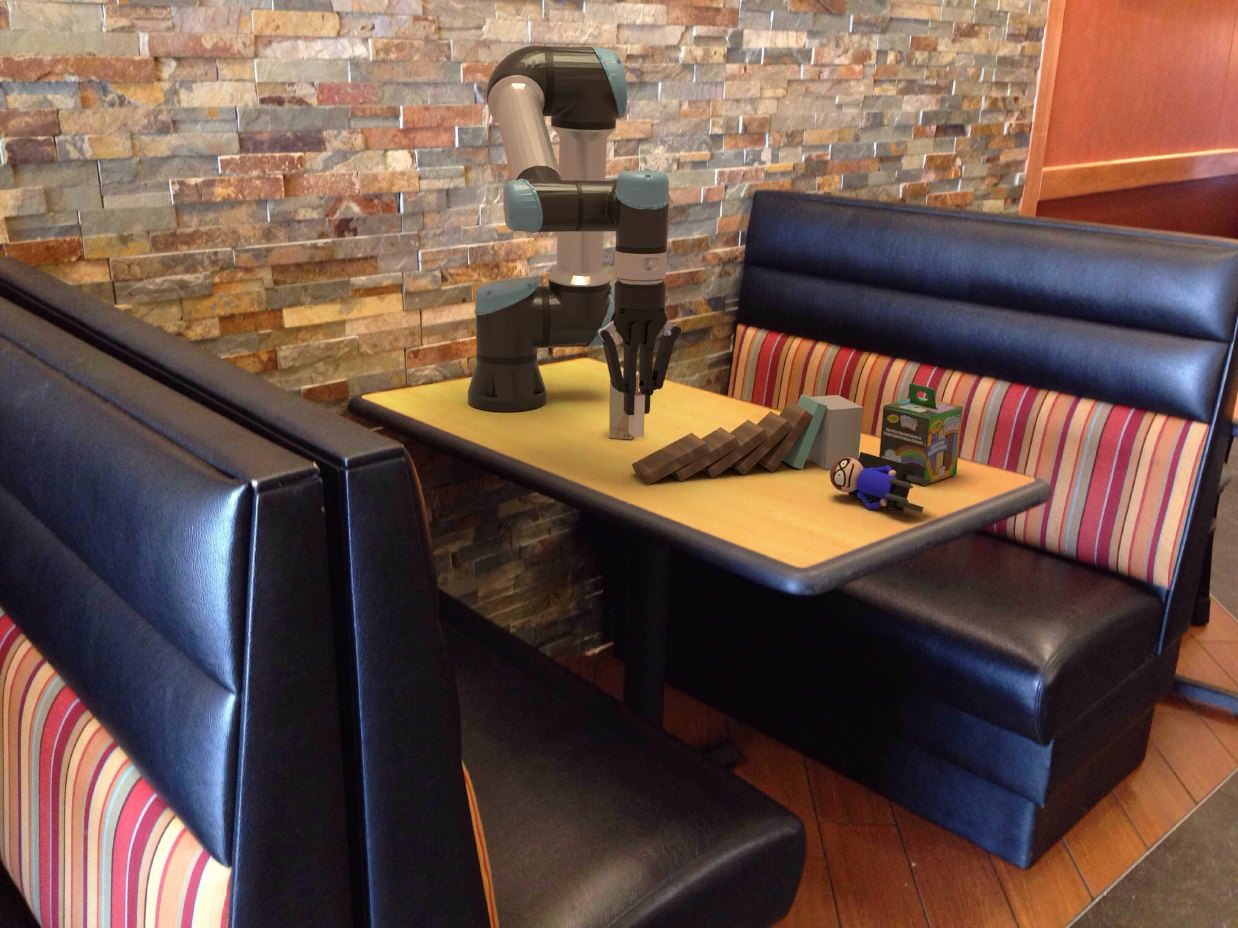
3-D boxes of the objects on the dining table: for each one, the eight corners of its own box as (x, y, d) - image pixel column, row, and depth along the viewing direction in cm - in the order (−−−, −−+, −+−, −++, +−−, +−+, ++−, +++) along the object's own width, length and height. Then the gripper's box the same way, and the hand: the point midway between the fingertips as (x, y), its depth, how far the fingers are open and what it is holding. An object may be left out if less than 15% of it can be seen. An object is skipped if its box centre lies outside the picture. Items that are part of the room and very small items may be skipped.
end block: (801, 455, 184) (805, 397, 181) (832, 451, 186) (837, 394, 183) (825, 469, 177) (830, 410, 174) (857, 466, 179) (863, 407, 176)
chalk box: (957, 476, 176) (968, 386, 171) (923, 487, 170) (934, 395, 165) (909, 461, 182) (918, 374, 178) (874, 472, 177) (883, 382, 172)
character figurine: (907, 528, 155) (822, 500, 165) (936, 513, 159) (851, 486, 170) (910, 476, 152) (823, 451, 162) (940, 462, 156) (853, 439, 167)
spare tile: (793, 466, 176) (818, 402, 174) (776, 456, 181) (801, 394, 179) (802, 469, 177) (827, 405, 175) (785, 459, 182) (810, 397, 180)
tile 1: (644, 475, 168) (706, 442, 170) (631, 464, 173) (691, 432, 175) (648, 485, 168) (709, 452, 170) (635, 473, 173) (695, 442, 175)
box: (632, 440, 190) (634, 378, 187) (608, 438, 191) (609, 376, 188) (638, 432, 195) (639, 371, 192) (614, 430, 196) (615, 369, 192)
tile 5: (765, 467, 175) (805, 410, 174) (749, 456, 180) (789, 401, 179) (773, 472, 175) (813, 416, 175) (757, 461, 180) (796, 407, 180)
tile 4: (736, 468, 173) (787, 420, 173) (721, 457, 178) (770, 411, 178) (743, 475, 174) (793, 427, 174) (727, 464, 179) (776, 418, 179)
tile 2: (676, 472, 169) (735, 436, 171) (662, 461, 174) (720, 427, 176) (680, 481, 170) (739, 446, 172) (667, 470, 175) (724, 436, 177)
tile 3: (707, 469, 171) (763, 429, 172) (693, 459, 176) (748, 419, 177) (713, 478, 172) (768, 438, 173) (698, 467, 177) (752, 428, 178)
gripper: (606, 286, 155) (604, 445, 163) (691, 282, 160) (684, 438, 167) (589, 278, 162) (588, 431, 169) (671, 275, 166) (666, 424, 174)
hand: (636, 434), depth 168 cm, fingers closed
